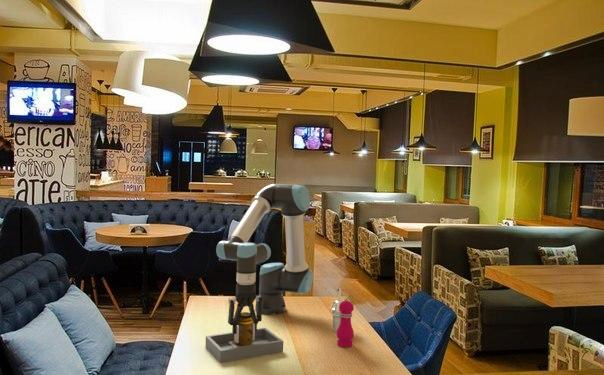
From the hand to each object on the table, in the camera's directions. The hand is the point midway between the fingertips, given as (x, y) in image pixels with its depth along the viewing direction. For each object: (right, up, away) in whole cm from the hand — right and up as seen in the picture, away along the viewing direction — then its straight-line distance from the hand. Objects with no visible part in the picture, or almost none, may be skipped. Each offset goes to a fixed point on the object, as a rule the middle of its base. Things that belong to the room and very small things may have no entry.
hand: (244, 340), depth 206 cm
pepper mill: (+40, -5, +9) cm, 42 cm away
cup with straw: (+39, -4, +27) cm, 47 cm away
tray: (0, -4, 0) cm, 4 cm away
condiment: (-1, -2, 0) cm, 2 cm away
